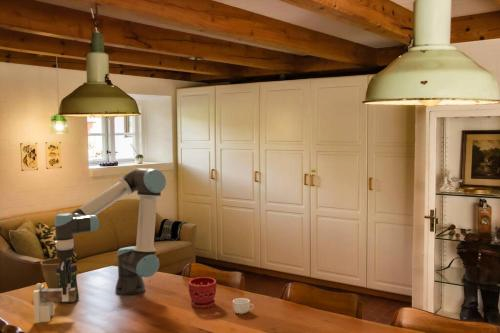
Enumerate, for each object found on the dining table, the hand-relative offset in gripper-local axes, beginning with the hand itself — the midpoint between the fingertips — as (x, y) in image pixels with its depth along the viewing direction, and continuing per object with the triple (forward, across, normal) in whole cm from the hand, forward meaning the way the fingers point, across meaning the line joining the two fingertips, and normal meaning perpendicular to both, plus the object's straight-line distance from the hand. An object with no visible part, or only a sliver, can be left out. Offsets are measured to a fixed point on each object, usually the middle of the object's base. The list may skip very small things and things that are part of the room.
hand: (66, 299), depth 228 cm
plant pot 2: (+8, -4, +61) cm, 62 cm away
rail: (0, 0, -3) cm, 3 cm away
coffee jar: (+8, -23, -5) cm, 25 cm away
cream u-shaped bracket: (+8, 0, -10) cm, 13 cm away
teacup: (+8, +9, +79) cm, 80 cm away
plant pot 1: (+8, -42, -15) cm, 45 cm away
